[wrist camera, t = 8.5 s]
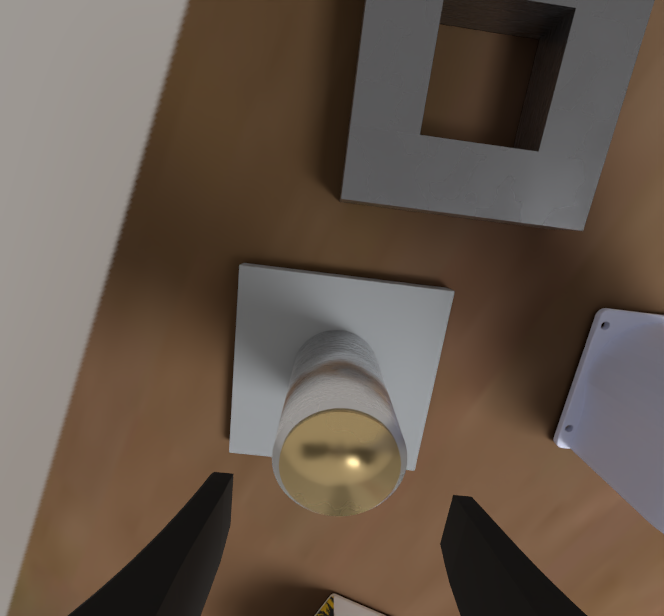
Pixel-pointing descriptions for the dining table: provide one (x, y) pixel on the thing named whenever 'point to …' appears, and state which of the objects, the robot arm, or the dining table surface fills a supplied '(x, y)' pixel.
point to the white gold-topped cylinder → (338, 429)
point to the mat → (325, 315)
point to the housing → (535, 122)
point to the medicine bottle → (344, 608)
